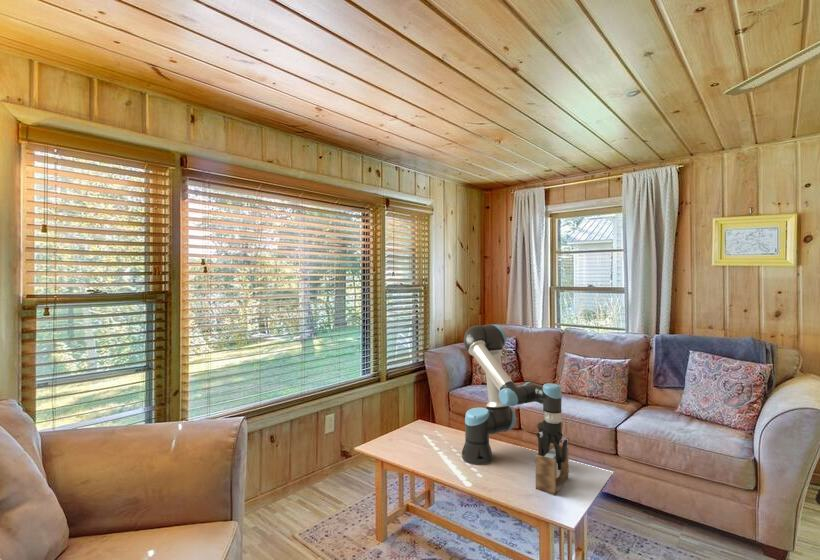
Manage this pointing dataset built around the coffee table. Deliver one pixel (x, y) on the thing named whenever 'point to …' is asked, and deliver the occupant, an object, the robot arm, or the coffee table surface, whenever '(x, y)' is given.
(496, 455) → the coffee table surface
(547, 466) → the brown cabinet body
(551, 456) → the door slab
